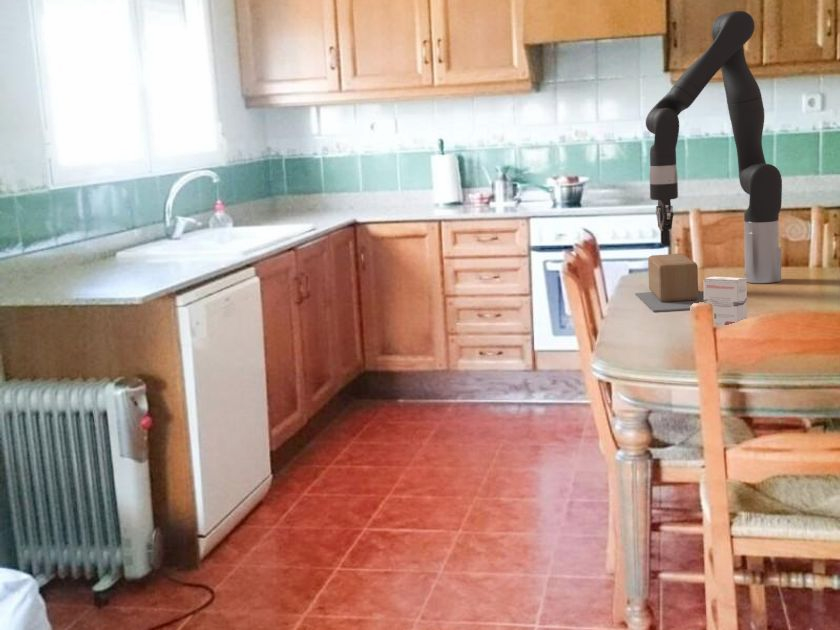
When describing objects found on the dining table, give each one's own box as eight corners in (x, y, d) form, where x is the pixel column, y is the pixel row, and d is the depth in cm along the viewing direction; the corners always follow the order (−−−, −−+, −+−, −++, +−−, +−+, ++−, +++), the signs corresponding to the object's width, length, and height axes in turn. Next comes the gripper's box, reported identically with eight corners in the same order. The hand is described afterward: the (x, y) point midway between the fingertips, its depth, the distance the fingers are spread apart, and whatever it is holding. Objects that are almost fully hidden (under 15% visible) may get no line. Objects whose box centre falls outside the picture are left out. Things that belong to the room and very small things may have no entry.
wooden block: (684, 253, 292) (698, 262, 273) (684, 288, 294) (699, 300, 274) (647, 255, 293) (659, 265, 273) (648, 290, 295) (660, 303, 275)
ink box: (748, 328, 239) (747, 276, 237) (738, 332, 236) (737, 280, 234) (713, 325, 245) (712, 275, 243) (702, 329, 242) (701, 278, 239)
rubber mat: (697, 291, 292) (697, 289, 292) (721, 308, 265) (721, 306, 265) (635, 294, 293) (635, 293, 292) (653, 312, 266) (653, 310, 266)
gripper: (682, 182, 284) (683, 246, 287) (672, 179, 297) (674, 240, 300) (654, 184, 285) (656, 248, 288) (645, 181, 298) (647, 242, 301)
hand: (665, 244), depth 294 cm, fingers closed
